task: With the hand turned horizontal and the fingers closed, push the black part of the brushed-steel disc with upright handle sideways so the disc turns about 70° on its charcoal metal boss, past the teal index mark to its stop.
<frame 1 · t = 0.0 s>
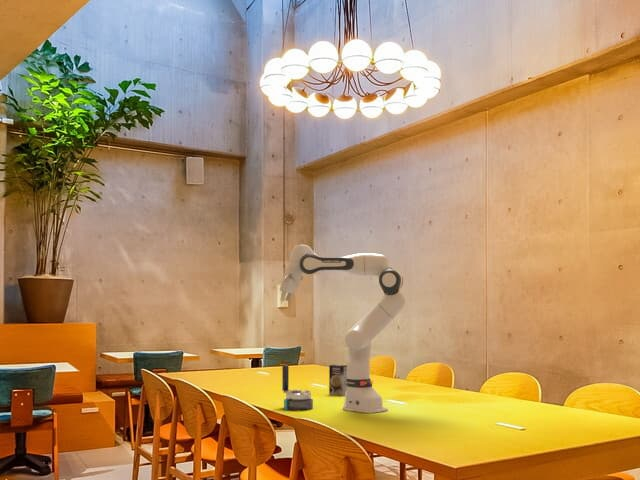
hand: (284, 300, 335), 52 cm above the table, tool tilted 20°, fingers open, 8 cm apart
disc with upright handle: (296, 382, 324), point 12 cm above the table, hinge at 0.0°
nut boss: (298, 408, 323), on the table
coffee box: (338, 394, 369), on the table
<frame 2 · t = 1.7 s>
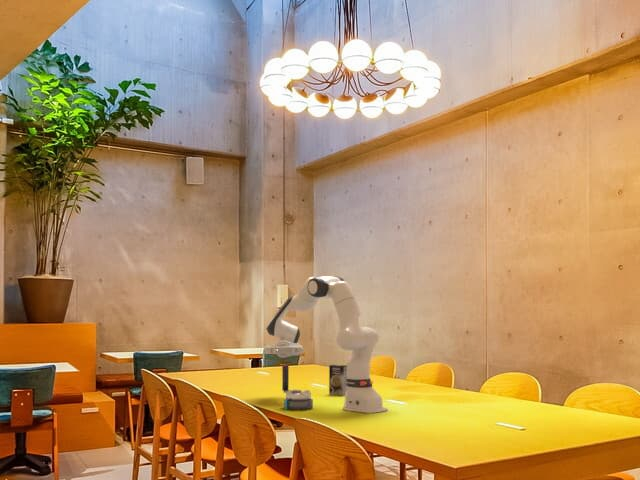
hand: (284, 351, 339), 26 cm above the table, tool horizontal, fingers open, 7 cm apart
nothing on the table moved.
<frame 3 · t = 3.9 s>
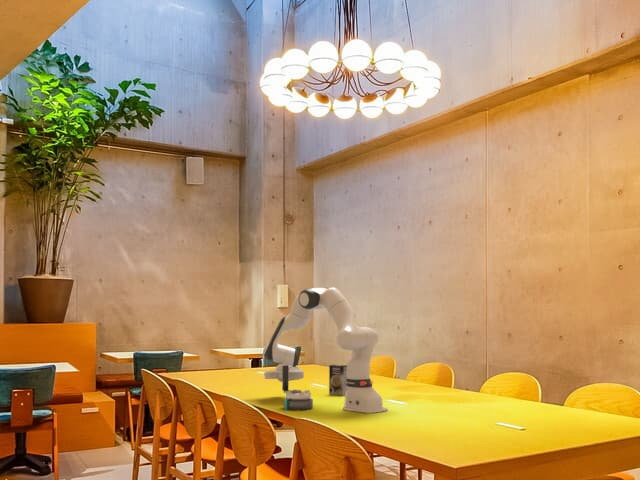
hand: (284, 376, 337), 14 cm above the table, tool horizontal, fingers closed
nothing on the table moved.
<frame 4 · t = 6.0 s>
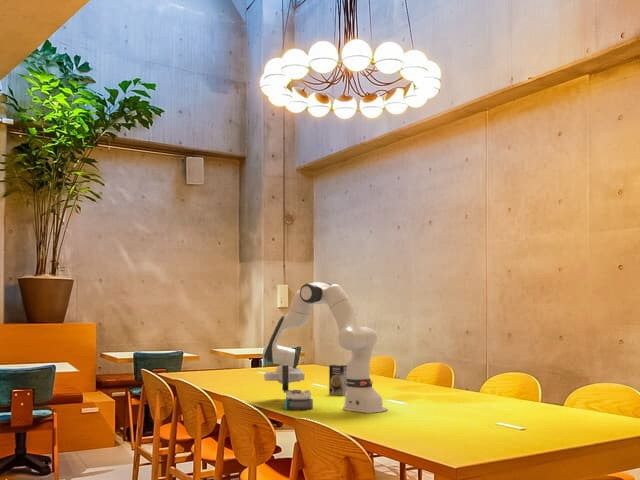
hand: (284, 378, 328), 14 cm above the table, tool horizontal, fingers closed, pressing on disc with upright handle
disc with upright handle: (296, 382, 324), point 12 cm above the table, hinge at 0.0°, touching gripper
everything else where it was.
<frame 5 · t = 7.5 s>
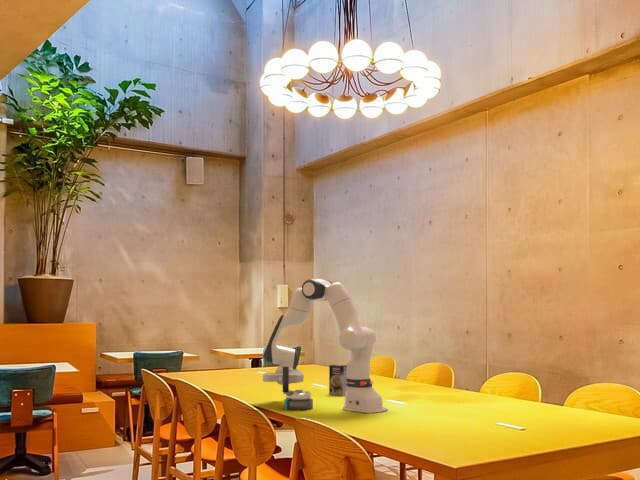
hand: (283, 379, 322), 14 cm above the table, tool horizontal, fingers closed
disc with upright handle: (296, 382, 323), point 12 cm above the table, hinge at 52.4°, touching gripper
everything else where it was.
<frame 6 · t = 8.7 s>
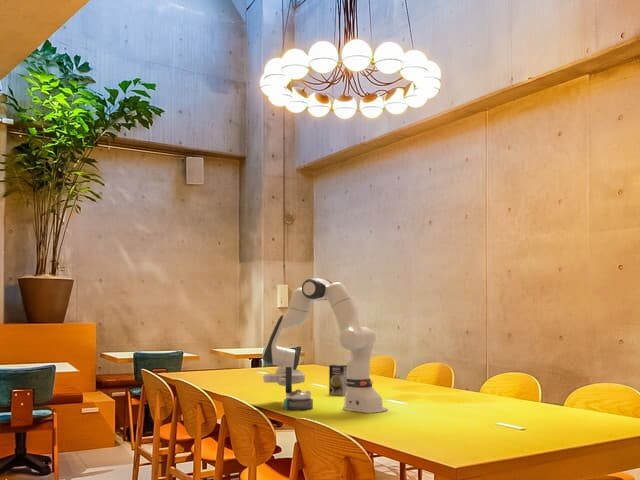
hand: (284, 380, 320), 14 cm above the table, tool horizontal, fingers closed
disc with upright handle: (296, 382, 323), point 12 cm above the table, hinge at 71.9°, touching gripper
everything else where it was.
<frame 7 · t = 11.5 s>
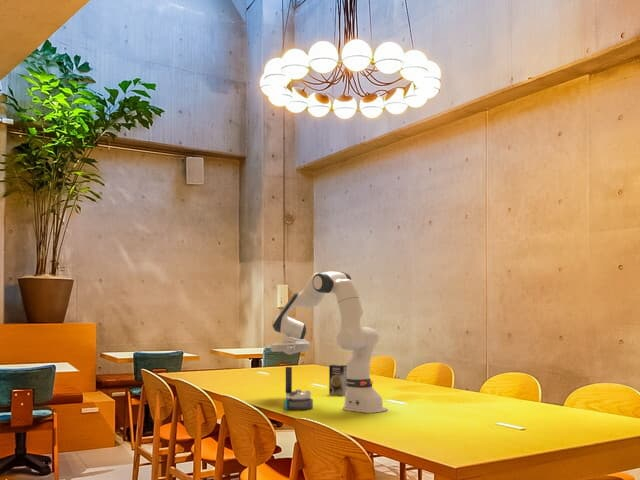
hand: (291, 348, 338), 28 cm above the table, tool horizontal, fingers closed
disc with upright handle: (296, 382, 323), point 12 cm above the table, hinge at 72.0°
everything else where it was.
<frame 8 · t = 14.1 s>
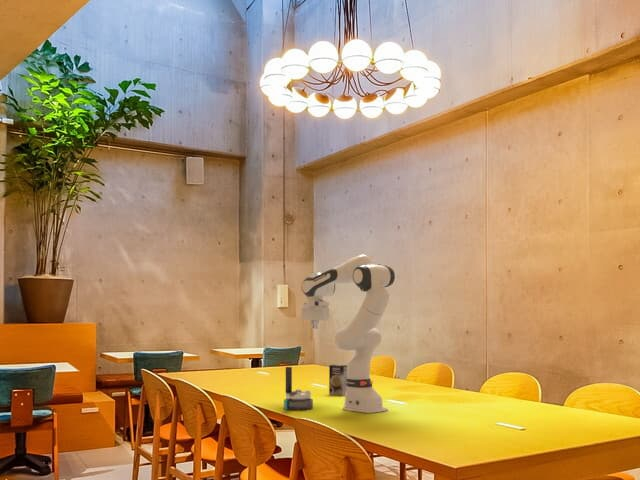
hand: (314, 328, 353), 37 cm above the table, tool pointing down, fingers closed
nothing on the table moved.
at the end: disc with upright handle at +72° (first picture: +0°); coffee box moved 0.2 cm from its start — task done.
